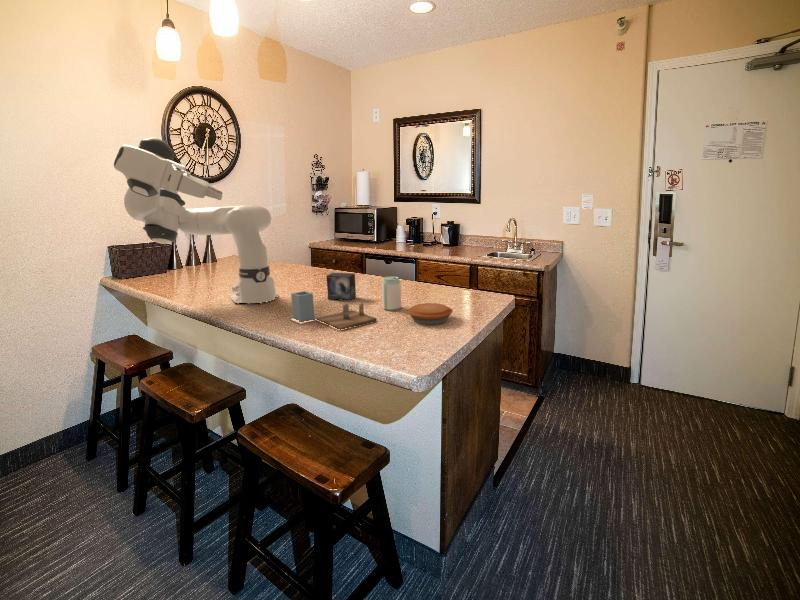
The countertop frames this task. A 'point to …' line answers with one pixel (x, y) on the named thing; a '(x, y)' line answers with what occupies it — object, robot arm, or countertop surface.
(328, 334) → the countertop surface
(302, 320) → the square pen holder
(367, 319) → the post base
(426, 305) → the pie
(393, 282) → the can
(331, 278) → the small box
